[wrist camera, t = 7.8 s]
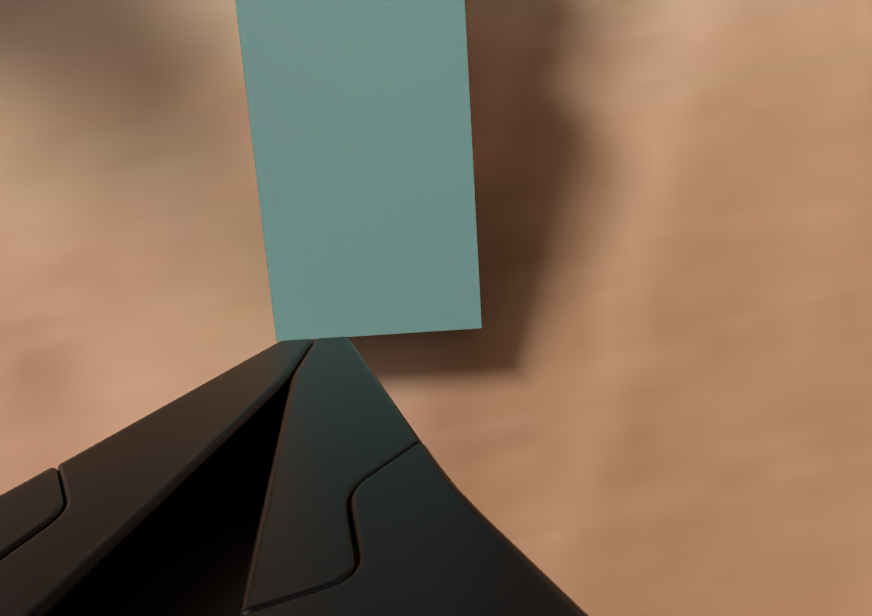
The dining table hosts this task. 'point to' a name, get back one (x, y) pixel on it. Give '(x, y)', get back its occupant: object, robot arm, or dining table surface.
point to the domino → (363, 164)
